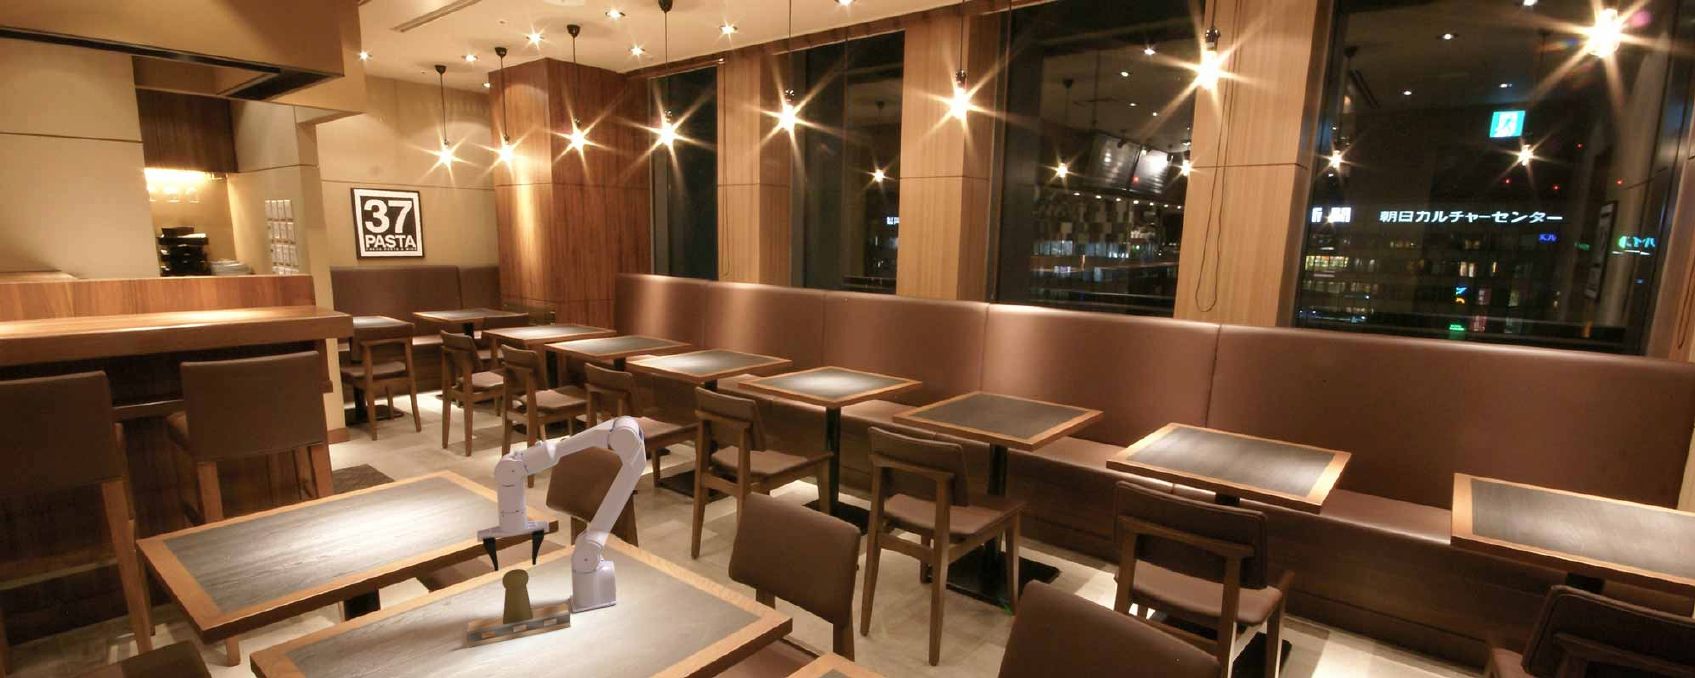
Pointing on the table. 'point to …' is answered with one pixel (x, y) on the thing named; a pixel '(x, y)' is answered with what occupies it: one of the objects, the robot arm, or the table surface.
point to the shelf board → (517, 626)
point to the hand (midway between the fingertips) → (515, 566)
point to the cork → (516, 597)
